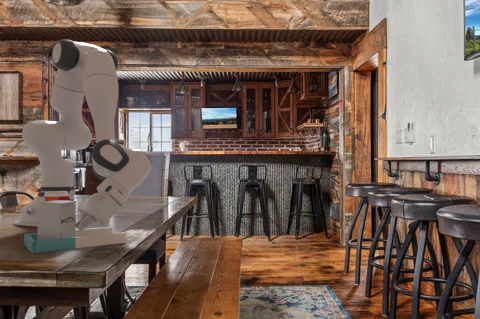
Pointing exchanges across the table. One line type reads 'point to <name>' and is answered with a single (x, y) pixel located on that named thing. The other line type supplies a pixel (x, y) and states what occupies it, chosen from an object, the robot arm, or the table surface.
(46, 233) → the supplement box
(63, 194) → the paper cup
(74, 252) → the table surface
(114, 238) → the push lane
